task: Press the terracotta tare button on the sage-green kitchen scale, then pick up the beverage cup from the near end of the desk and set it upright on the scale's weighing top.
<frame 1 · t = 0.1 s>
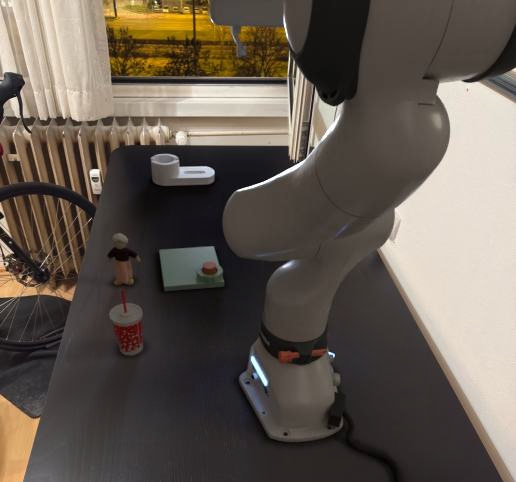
hand: (268, 57, 82), 48 cm above the table, tool pointing down, fingers open, 8 cm apart
bracket: (183, 179, 155), on the table
gum box: (296, 230, 136), on the table
grandmother figurine: (126, 282, 113), on the table
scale: (190, 269, 118), on the table
beverage cup: (131, 348, 96), on the table
tare button: (209, 268, 113), point 4 cm above the table, slide at 0.1 cm
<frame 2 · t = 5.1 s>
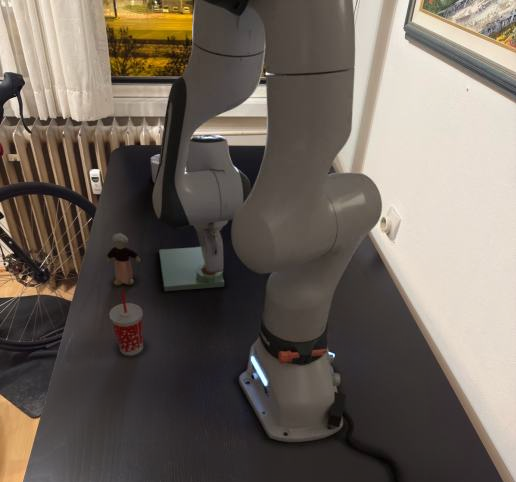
hand: (208, 266, 112), 4 cm above the table, tool pointing down, fingers closed, pressing on tare button
tare button: (209, 269, 113), point 3 cm above the table, slide at -0.3 cm, touching gripper
everything else where it was.
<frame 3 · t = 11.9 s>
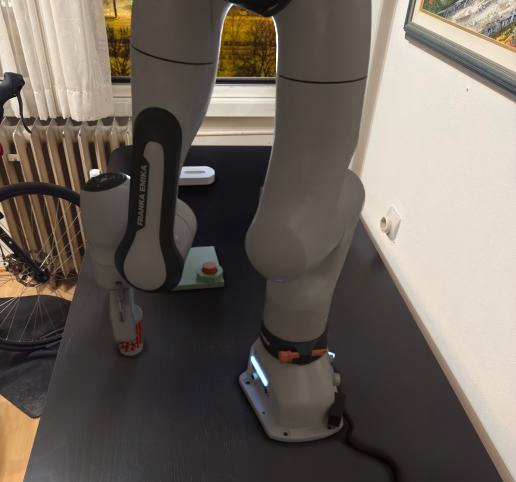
hand: (127, 327, 93), 5 cm above the table, tool pointing down, fingers closed on beverage cup, 6 cm apart
beverage cup: (131, 348, 96), on the table, touching gripper
tare button: (209, 268, 113), point 3 cm above the table, slide at 0.1 cm
everything else where it was.
when the fingers open (7 cm above the table, at t = 21.6 s): beverage cup stays where it is, resting on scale.
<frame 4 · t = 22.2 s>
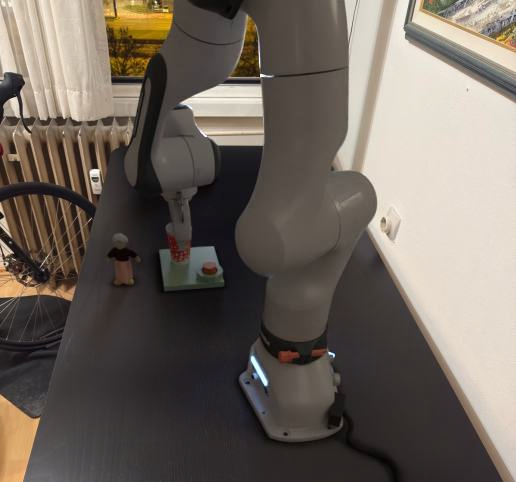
hand: (180, 238, 114), 7 cm above the table, tool pointing down, fingers open, 8 cm apart
beverage cup: (180, 260, 118), point 1 cm above the table, touching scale
everything else where it was.
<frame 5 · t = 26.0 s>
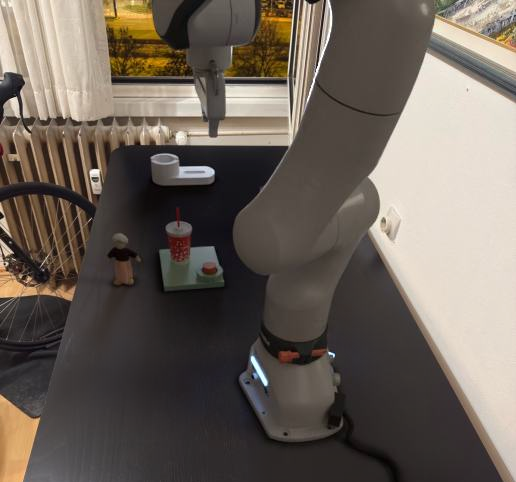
hand: (209, 128, 103), 31 cm above the table, tool pointing down, fingers open, 8 cm apart
nothing on the table moved.
at the end: tare button pushed in 0.8 cm at the most during the clip, back to where it started at the end; beverage cup inside the target area on the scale (0.1 cm from its centre), point 1.2 cm above the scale's base; beverage cup tilted 0° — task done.
